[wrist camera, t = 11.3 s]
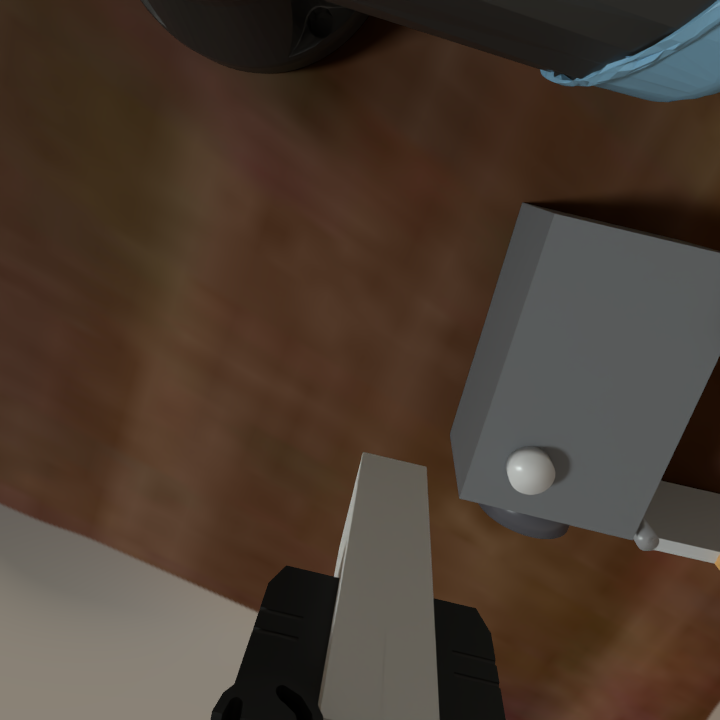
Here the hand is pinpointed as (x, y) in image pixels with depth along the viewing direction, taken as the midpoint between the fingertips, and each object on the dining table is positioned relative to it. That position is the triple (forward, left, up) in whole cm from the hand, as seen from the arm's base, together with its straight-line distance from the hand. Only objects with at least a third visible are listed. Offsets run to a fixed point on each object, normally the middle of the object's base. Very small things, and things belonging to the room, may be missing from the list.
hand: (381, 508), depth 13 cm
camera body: (+2, +11, -24) cm, 27 cm away
